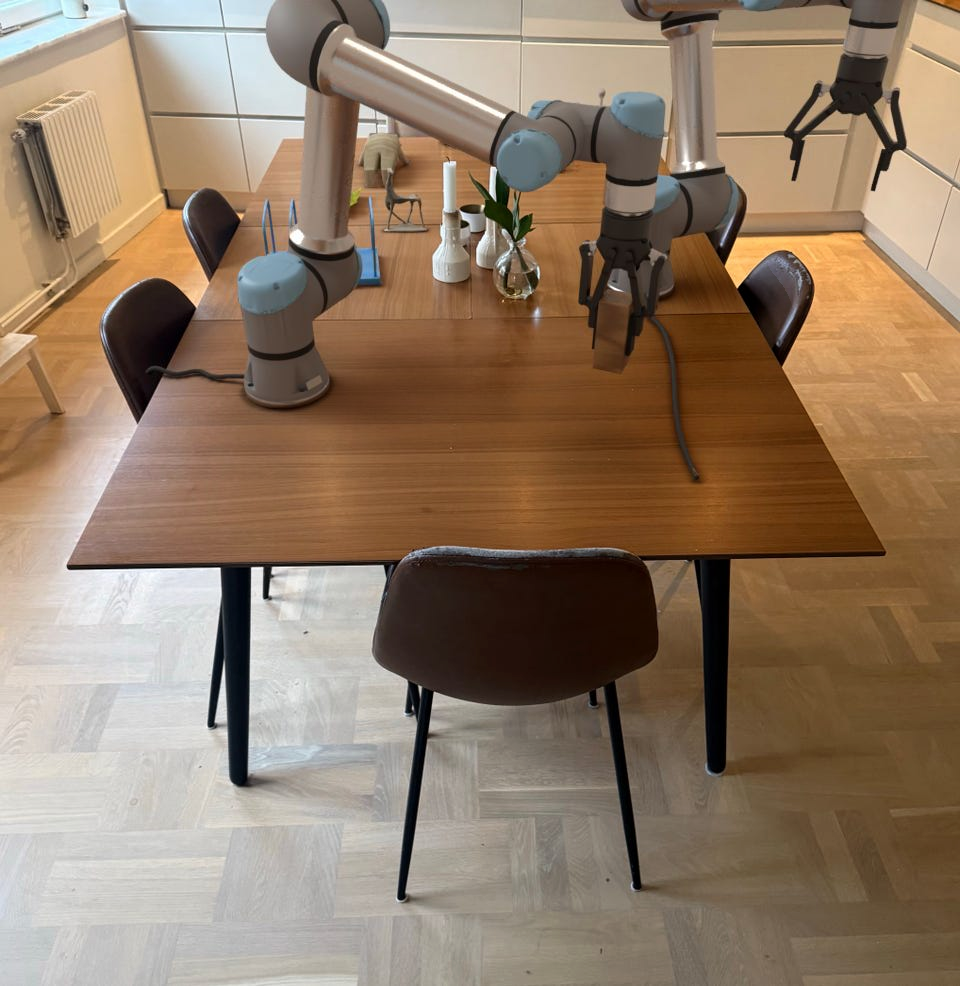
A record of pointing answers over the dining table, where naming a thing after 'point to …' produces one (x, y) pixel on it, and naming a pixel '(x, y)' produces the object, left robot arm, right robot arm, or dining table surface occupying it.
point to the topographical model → (354, 197)
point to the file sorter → (367, 254)
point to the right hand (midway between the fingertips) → (833, 184)
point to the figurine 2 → (395, 199)
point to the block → (612, 331)
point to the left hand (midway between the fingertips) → (612, 348)
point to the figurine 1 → (381, 156)
